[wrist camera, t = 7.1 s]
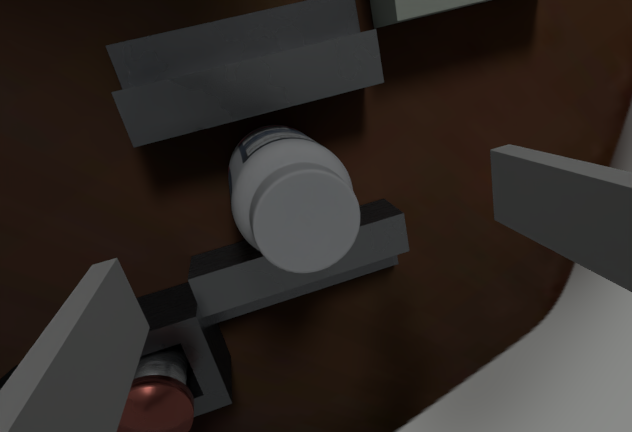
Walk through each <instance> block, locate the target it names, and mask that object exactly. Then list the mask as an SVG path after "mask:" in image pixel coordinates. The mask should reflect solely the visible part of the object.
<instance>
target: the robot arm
mask: <svg viewBox="0 0 632 432" xmlns="http://www.w3.org/2000/svg"><path fill="white" fill-rule="evenodd" d="M490 155H491V171H492V188H493V204H494V220H496V221H498V222H500V223H502V224H504V225H505V226H507V227H509V228H511V229H513V230H515V231H517V232H519V233H521V234H523V235H524V236H526V237H528V238H530V239H532V240H534V241H536V242H538V243H540V244H542V245H543V246H545V247H547V248H549V249H551V250H553V251H555V252H557V253H559V254H561V255H562V256H564V257H566V258H568V259H570V260H572V261H574V262H576V263H578V264H580V265H581V266H583V267H585V268H587V269H589V270H591V271H593V272H595V273H597V274H598V275H601V276H602V277H604V278H606V279H608V280H610V281H612V282H614V283H616V284H618V285H619V286H621V287H623V288H625V289H627V290H629V291H631V292H632V172H628V171H623V170H619V169H615V168H610V167H606V166H602V165H597V164H593V163H588V162H584V161H580V160H575V159H571V158H567V157H562V156H558V155H554V154H549V153H545V152H541V151H536V150H532V149H528V148H523V147H519V146H515V145H510V144H509V145H505V146H502V147H499V148H495V149H492V150H490ZM149 328H150V327H149V325H148V322H147V320H146V318H145V316H144V314H143V312H142V310H141V308H140V305H139V303H138V301H137V299H136V297H135V295H134V293H133V291H132V289H131V286H130V284H129V282H128V280H127V278H126V276H125V274H124V272H123V269H122V267H121V265H120V263H119V261H118V259H117V258H115V259H111V260H108V261H104V262H101V263H97V264H94V265H92V266H91V268H90V269H89V270H88V272H87V273H86V274H85V276H84V277H83V278H82V280H81V281H80V282H79V284H78V285H77V287H76V288H75V289H74V291H73V292H72V293H71V295H70V296H69V297H68V299H67V300H66V301H65V303H64V304H63V306H62V307H61V308H60V310H59V311H58V312H57V314H56V315H55V316H54V318H53V319H52V321H51V322H50V323H49V325H48V326H47V327H46V329H45V330H44V331H43V333H42V334H41V335H40V337H39V338H38V340H37V341H36V342H35V344H34V345H33V346H32V348H31V349H30V350H29V352H28V353H27V354H26V356H25V357H24V359H23V360H22V361H21V363H20V364H19V365H16V366H15V367H14V368H13V369H11V370H10V371H9V372H8V373H7V374H6V375H5V376H3V377H2V378H1V379H0V432H117V429H118V426H119V422H120V419H121V416H122V413H123V410H124V407H125V404H126V401H127V397H128V394H129V391H130V388H131V385H132V382H133V379H134V375H135V372H136V369H137V366H138V363H139V360H140V357H141V353H142V350H143V347H144V344H145V341H146V338H147V335H148V332H149Z"/></svg>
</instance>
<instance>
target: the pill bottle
mask: <svg viewBox="0 0 632 432" xmlns="http://www.w3.org/2000/svg"><path fill="white" fill-rule="evenodd" d="M228 180H229V188H230V198H231V209H232V214H233V217H234V220H235V223H236V225H237V227H238V229H239V231H240V233H241V234H242V236H243V237H244V238H245V239H246V240H247V242H248V243H249V244H251V245H252V246H253V247H254V248H256V249H257V250H259V251H260V252H261V253H262V255H263V256H264V257H265V258H266V259H267V260H268V261H269V262H271V263H272V264H273V265H275V266H277V267H278V268H280V269H283V270H285V271H288V272H294V273H312V272H317V271H320V270H323V269H325V268H328V267H330V266H331V265H333V264H335V263H336V262H338V261H339V260H340V259H341V258H342V257H343V256H344V255H345V254H346V253H347V252H348V251H349V249H350V248H351V247H352V245H353V244H354V242H355V239H356V237H357V235H358V232H359V227H360V208H359V204H358V201H357V198H356V196H355V194H354V192H353V188H352V183H351V180H350V177H349V174H348V172H347V170H346V169H345V167H344V165H343V164H342V163H341V161H340V160H339V159H338V158H337V157H336V156H335V155H334V154H333V153H332V152H331V151H329V150H328V149H327V148H325V147H324V146H322V145H321V144H319V143H317V142H315V141H314V140H312V139H311V138H309V137H308V136H306V135H305V134H303V133H302V132H300V131H298V130H296V129H294V128H291V127H288V126H284V125H268V126H264V127H260V128H258V129H256V130H254V131H252V132H250V133H249V134H247V135H246V136H245V137H244V138H243V139H242V140H241V141H240V142H239V143H238V145H237V146H236V148H235V149H234V151H233V153H232V156H231V159H230V163H229V169H228Z"/></svg>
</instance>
